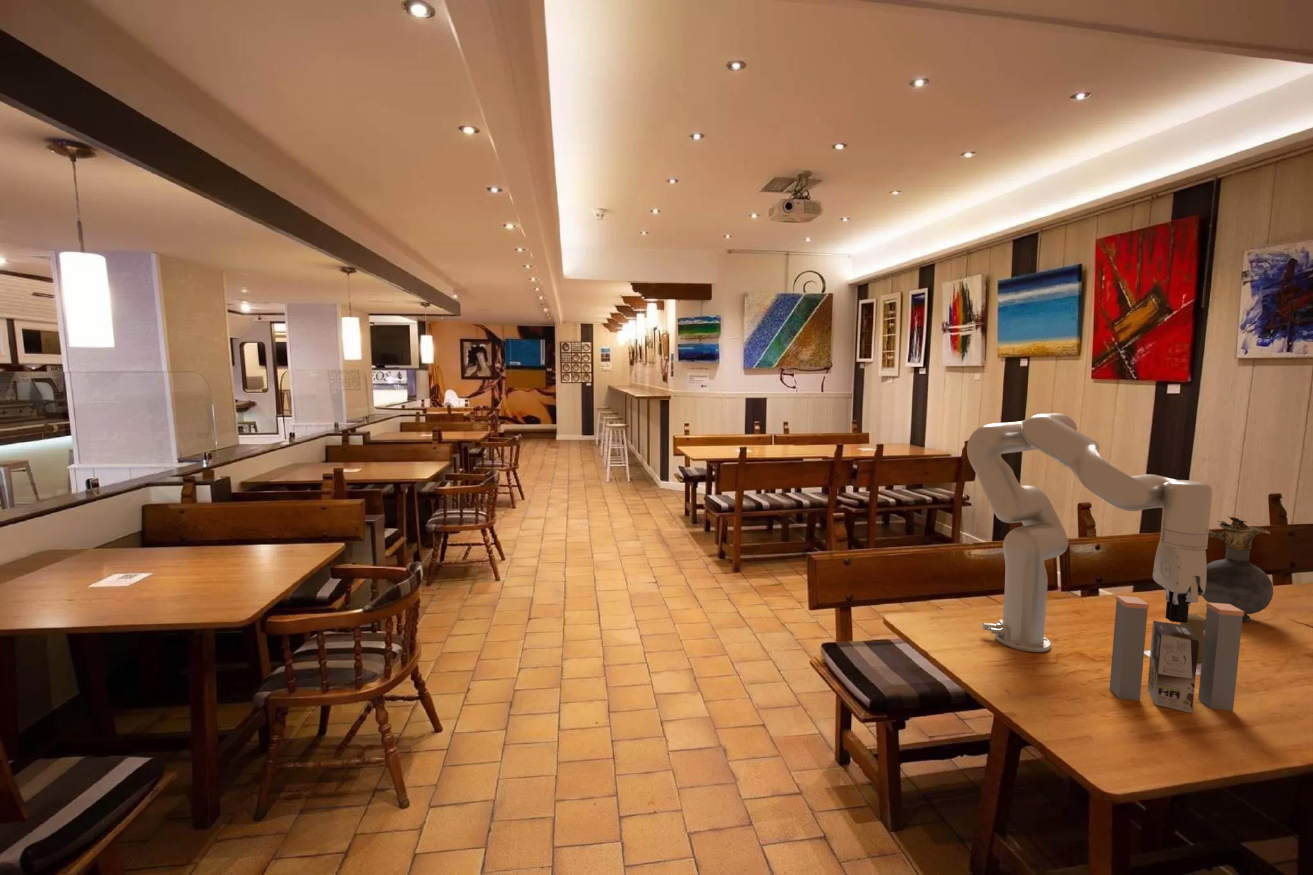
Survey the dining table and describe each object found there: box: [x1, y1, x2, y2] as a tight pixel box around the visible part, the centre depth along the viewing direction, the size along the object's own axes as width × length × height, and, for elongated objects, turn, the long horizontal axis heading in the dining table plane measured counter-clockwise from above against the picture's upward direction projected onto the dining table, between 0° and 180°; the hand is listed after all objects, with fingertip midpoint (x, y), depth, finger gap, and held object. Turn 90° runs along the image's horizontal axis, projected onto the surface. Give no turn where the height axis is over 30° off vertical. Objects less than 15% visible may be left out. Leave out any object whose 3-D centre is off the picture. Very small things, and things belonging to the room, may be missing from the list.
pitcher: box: [1201, 516, 1274, 623], centre depth 172 cm, size 11×19×30 cm, turn 32°
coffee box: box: [1147, 620, 1200, 714], centre depth 127 cm, size 9×6×16 cm
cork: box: [1179, 613, 1206, 664], centre depth 147 cm, size 6×6×11 cm
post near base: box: [1109, 595, 1150, 702], centre depth 129 cm, size 4×4×22 cm
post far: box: [1197, 601, 1244, 712], centre depth 125 cm, size 4×4×22 cm
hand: (1176, 620), depth 126 cm, fingers closed
